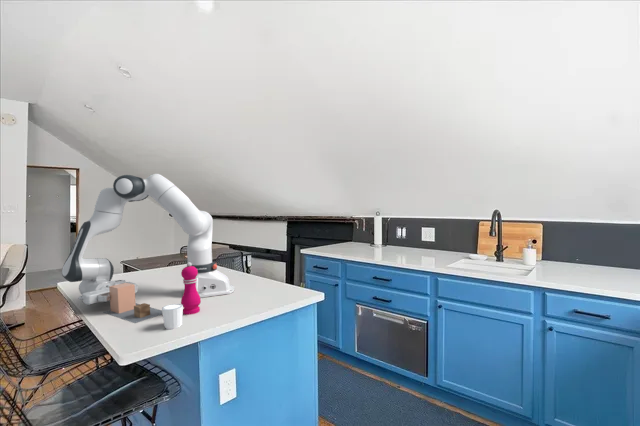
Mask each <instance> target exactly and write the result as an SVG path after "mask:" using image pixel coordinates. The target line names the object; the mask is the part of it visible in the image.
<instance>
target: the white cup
mask: <svg viewBox="0 0 640 426" xmlns="http://www.w3.org/2000/svg"><path fill="white" fill-rule="evenodd" d="M183 309H184V307H183V305H182V304H181V303H172V304H168V305H164V306H163V307H162V308H161V310H162V319H163V326H164V328H166V329H165V330H174V328H175V329H178V327H179V328H180V326H181V325H182V326H183V315H184V314H183ZM182 326H181V327H182Z"/></svg>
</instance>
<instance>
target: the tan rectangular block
mask: <svg viewBox="0 0 640 426" xmlns="http://www.w3.org/2000/svg"><path fill="white" fill-rule="evenodd" d="M109 291H110V301H109V304H110V305H109V306H110V310H111V311H113V312H116V313H122V312H126V311H129V310H133V309H134V306H136V293H135V285H134V284H130V283H122V284H118V285H113V286H109Z"/></svg>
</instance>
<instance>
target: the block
mask: <svg viewBox="0 0 640 426" xmlns="http://www.w3.org/2000/svg"><path fill="white" fill-rule="evenodd" d="M138 304H139V305H136V306H134V316H135V317H138V318H142V317H145V316H148V315H150V307H151V304H149V303H145V302H143V303H138Z"/></svg>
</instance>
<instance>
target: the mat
mask: <svg viewBox="0 0 640 426" xmlns="http://www.w3.org/2000/svg"><path fill="white" fill-rule="evenodd" d="M135 303H136V302H135ZM139 304H140V303H136V305H139ZM103 313H104V314H106V315H109V316H112V317H116V318H119V319H121V320H124V321H127V322H130V323H132V324H133V323H134V324H137V323H140V322H143V321H146V320H150V319H152V318H155V317H159V316H163V314H162V309H158V308H156V307H155V308H154V307H152V306H150V315H148V316H145V317H142V318H138V317H135V316H134V309H133V310H129V311H126V312H122V313H116V312H113V311H111V309H110V310H107V311H106V310H105V311H103Z"/></svg>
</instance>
